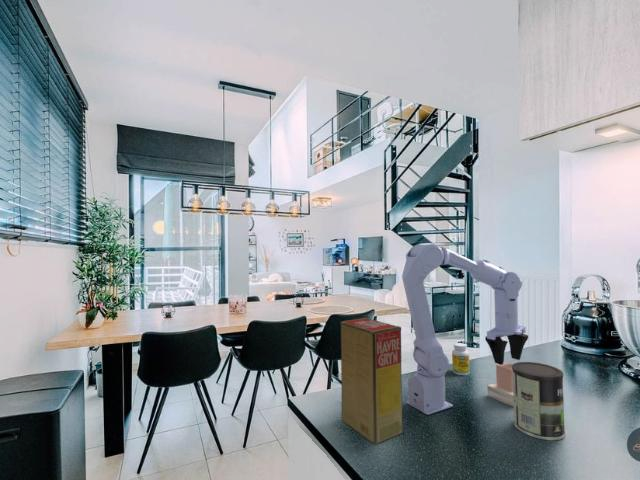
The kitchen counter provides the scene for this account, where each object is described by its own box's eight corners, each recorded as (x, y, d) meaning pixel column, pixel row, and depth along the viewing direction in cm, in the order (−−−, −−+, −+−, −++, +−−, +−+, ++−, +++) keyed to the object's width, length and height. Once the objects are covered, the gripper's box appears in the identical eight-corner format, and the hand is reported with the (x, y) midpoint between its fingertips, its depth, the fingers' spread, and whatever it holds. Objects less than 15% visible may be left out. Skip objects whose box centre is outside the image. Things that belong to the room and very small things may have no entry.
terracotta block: (511, 392, 93) (511, 370, 93) (496, 386, 97) (496, 365, 97) (521, 388, 95) (521, 367, 95) (506, 382, 99) (506, 362, 99)
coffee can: (563, 424, 82) (561, 365, 82) (567, 446, 73) (565, 380, 73) (514, 413, 87) (512, 358, 88) (512, 432, 79) (510, 371, 79)
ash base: (514, 407, 91) (514, 395, 91) (487, 395, 98) (487, 385, 98) (532, 400, 94) (532, 389, 94) (505, 389, 102) (504, 379, 102)
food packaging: (405, 432, 79) (402, 326, 80) (374, 446, 74) (372, 332, 75) (368, 410, 91) (366, 316, 91) (339, 420, 86) (337, 321, 86)
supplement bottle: (464, 369, 119) (463, 341, 119) (472, 375, 113) (472, 346, 114) (449, 370, 118) (448, 342, 118) (457, 376, 113) (457, 347, 113)
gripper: (503, 318, 90) (504, 370, 90) (535, 312, 96) (537, 360, 96) (479, 314, 96) (481, 362, 96) (511, 309, 103) (513, 354, 102)
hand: (507, 361), depth 96 cm, fingers open, 7 cm apart
